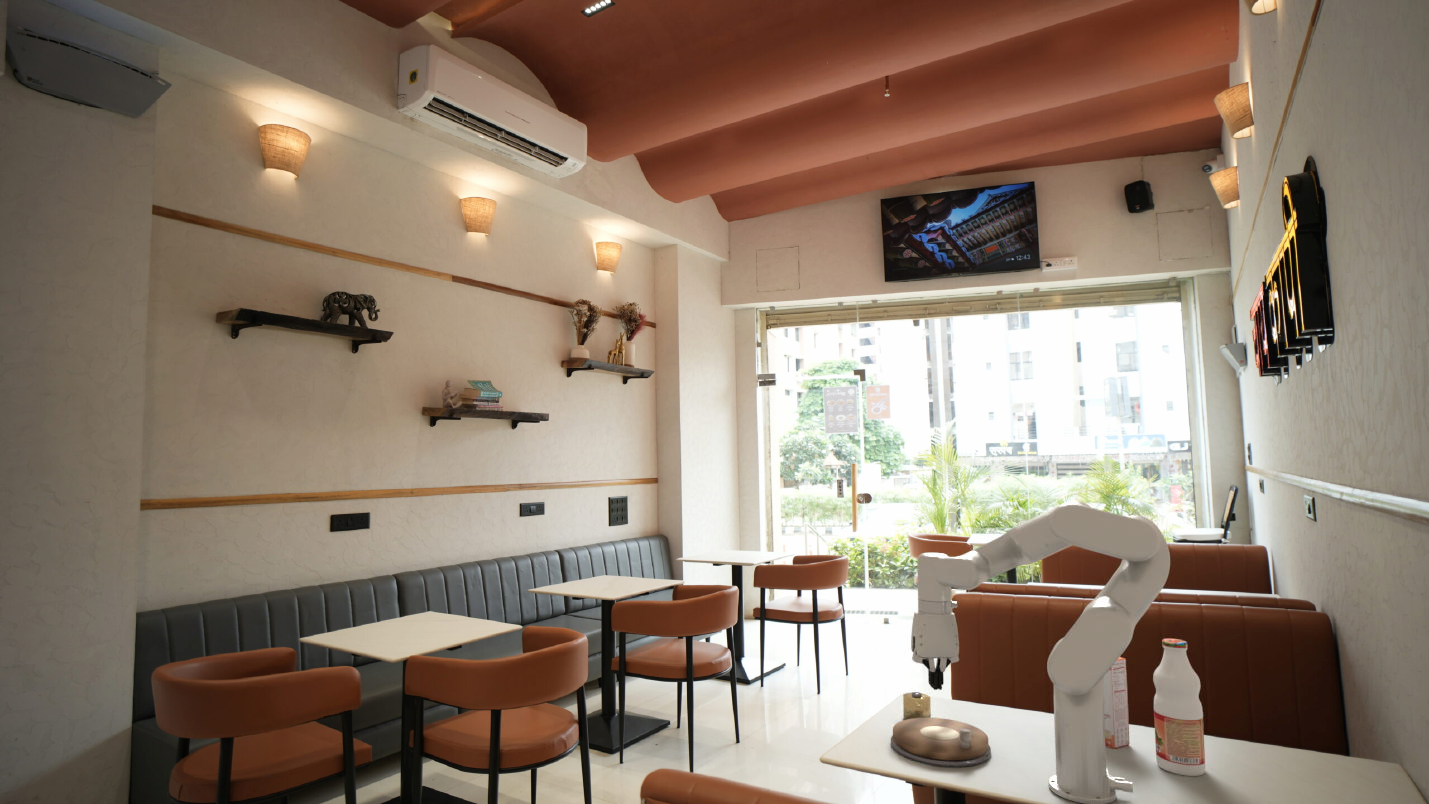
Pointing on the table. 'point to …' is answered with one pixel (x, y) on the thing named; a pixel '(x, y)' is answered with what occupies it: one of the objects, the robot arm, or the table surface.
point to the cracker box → (1116, 705)
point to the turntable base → (941, 762)
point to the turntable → (940, 738)
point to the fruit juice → (1178, 713)
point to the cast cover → (916, 705)
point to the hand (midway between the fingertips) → (936, 687)
